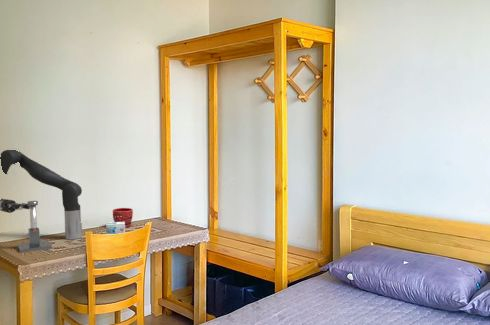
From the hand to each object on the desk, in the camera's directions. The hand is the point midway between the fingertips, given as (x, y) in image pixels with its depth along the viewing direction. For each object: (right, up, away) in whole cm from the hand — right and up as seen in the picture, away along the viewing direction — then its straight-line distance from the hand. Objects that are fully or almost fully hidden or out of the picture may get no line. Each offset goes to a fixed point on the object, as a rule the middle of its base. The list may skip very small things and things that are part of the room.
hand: (21, 208), depth 264 cm
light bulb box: (+52, -20, +8) cm, 56 cm away
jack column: (+10, -19, -5) cm, 22 cm away
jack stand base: (+10, -21, -5) cm, 24 cm away
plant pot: (+45, -18, +49) cm, 69 cm away
